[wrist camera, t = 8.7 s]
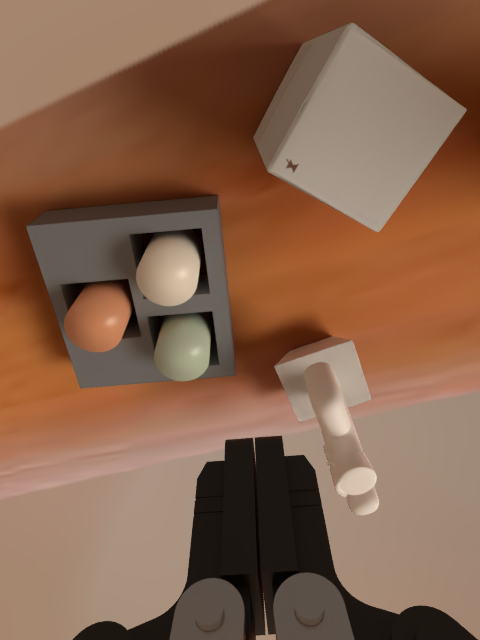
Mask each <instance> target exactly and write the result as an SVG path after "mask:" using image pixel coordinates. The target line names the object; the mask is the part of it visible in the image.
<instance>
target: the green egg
mask: <svg viewBox="0 0 480 640" xmlns="http://www.w3.org/2000/svg"><path fill="white" fill-rule="evenodd" d="M211 325H212V319H211V316H210V313H209V312H196V313H185V314H173V315H164V318H163V321H162V325H161V329H160V333H159V337H158V341H157V345H156V348H155V352H154V362H155V365H156V367H157V369H158V370H159V371H160V372H161V373H162V374H163V375H164V376H166V377H168V378H170V379H172V380H176V381H190V380H193V379H196V378H198V377H199V376H201V375H202V374H203V373H204V372H205V371H206V369H207V367H208V365H209V357H210V341H211Z"/></svg>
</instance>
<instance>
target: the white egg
mask: <svg viewBox="0 0 480 640" xmlns="http://www.w3.org/2000/svg"><path fill="white" fill-rule="evenodd" d="M201 256H202V245H201V242H200V240H199V238H198V236H197V235H196V234H195V232H194V231H192V230H191V229H185V230H174V231H163V232H154V234H153V235H152V237H151V239H150V241H149V244H148V246H147V248H146V250H145V252H144V255H143V257H142V259H141V261H140V263H139V265H138V268H137V272H136V281H137V285H138V287H139V289H140V291H141V292H142V294H143V295H144V296H145V297H146V298H147V299H149V300H150V301H152V302H153V303H156V304H158V305H162V306H176V305H180V304H182V303H184V302H186V301H187V300H189V299H190V298H191V297H192V295H193V294H194V292H195V291H196V288H197V284H198V277H199V270H200V263H201Z"/></svg>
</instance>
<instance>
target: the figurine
mask: <svg viewBox="0 0 480 640" xmlns="http://www.w3.org/2000/svg"><path fill="white" fill-rule="evenodd" d="M274 368H275V370H276V372H277V374H278V377H279V379H280V381H281V383H282V386H283V388H284V390H285V392H286V395H287V397H288V399H289V401H290V404H291V406H292V408H293V410H294V413H295V415H296V417H297V419H298V422H302V421H305V420H309V419H312V418H315V417H317V419H318V422H319V424H320V427H321V430H322V434H323V438H324V441H325V445H324V451H325V454H326V457H327V460H328V465H330V472H331V476H332V479H333V483H334V486H335V490H336V492H337V493H338V494H339V495H341V496H343V497H346V498H347V502H348V505H349V508H350V509H351V511H352V512H353V513H355V514H357V515H366V514H370V513H372V512H374V511H375V510H376V509H377V508H378V506H379V499H378V495H377V493H376V490H375V487H374V485H375V483H376V480H377V477H376V473H375V471H374V469H373V467H372V465H371V463H370V462H369V460H368V458H367V456H366V455H365V454H364V452H363V449H362V447H361V444H360V441H359V438H358V435H357V433H356V430H355V427H354V424H353V421H352V418H351V416H350V413H349V410H348V407H351V406H354V405H357V404H360V403H363V402H367V401H370V400H372V399H371V396H370V393H369V390H368V386H367V383H366V380H365V377H364V374H363V371H362V368H361V365H360V361H359V358H358V355H357V352H356V349H355V346H354V343H353V340H350V339H344V338H339V337H333V336H332V337H329V338H326V339H323V340H320V341H317V342H314V343H311V344H308V345H305V346H302V347H299V348H296V349H293V350H290V351H289V352H288V353H287V354H286V355H285V356H284V357H283V358H282V359H281V360H280V361H279V362H278V363H277V364H276V365H275V366H274Z"/></svg>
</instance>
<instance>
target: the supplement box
mask: <svg viewBox="0 0 480 640" xmlns="http://www.w3.org/2000/svg"><path fill="white" fill-rule="evenodd" d="M466 111H467V109H466V108H465V107H463V106H462V105H460V104H459V103H458V102H456V101H455V100H453V99H452V98H451V97H449V96H448V95H447V94H446V93H444V92H443V91H442V90H440V89H439V88H438V87H436V86H435V85H434V84H432V83H431V82H430V81H428V80H427V79H426V78H425V77H423V76H422V75H421V74H419V73H418V72H417V71H416V70H414V69H413V68H412V67H410V66H409V65H408V64H407V63H405V62H404V61H403V60H401V59H400V58H399V57H398V56H396V55H395V54H394V53H392V52H391V51H390V50H389V49H387V48H386V47H385V46H383V45H382V44H381V43H379V42H378V41H377V40H376V39H374V38H373V37H372V36H370V35H369V34H368V33H366V32H365V31H364V30H363V29H361V28H360V27H359V26H357V25H356V24H355V23H353V22H351V23H348V24H346V25H344V26H342V27H339V28H337V29H335V30H332V31H330V32H328V33H325V34H323V35H321V36H318V37H316V38H314V39H311V40H309V41H306V42H304V43H303V44H302V45H301V47H300V49H299V51H298V53H297V54H296V56H295V58H294V60H293V62H292V63H291V65H290V67H289V69H288V71H287V73H286V75H285V77H284V78H283V80H282V82H281V84H280V86H279V88H278V90H277V92H276V94H275V96H274V98H273V100H272V101H271V103H270V105H269V107H268V109H267V111H266V113H265V115H264V117H263V119H262V121H261V123H260V125H259V127H258V129H257V130H256V132H255V134H254V136H253V139H254V141H255V144H256V146H257V148H258V151H259V153H260V155H261V158H262V160H263V163H264V165H265V167H266V170H267V171H268V172H269V173H271V174H273V175H274V176H276V177H278V178H280V179H282V180H283V181H285V182H287V183H289V184H290V185H292V186H294V187H296V188H298V189H299V190H301V191H303V192H305V193H307V194H308V195H310V196H312V197H314V198H316V199H317V200H319V201H321V202H323V203H325V204H326V205H328V206H330V207H332V208H334V209H336V210H337V211H339V212H341V213H343V214H345V215H347V216H348V217H350V218H352V219H354V220H356V221H358V222H359V223H361V224H363V225H365V226H367V227H368V228H370V229H372V230H373V231H375V232H379V231H380V230H381V229H382V227H383V226H384V225H385V223H386V222H387V220H388V219H389V218H390V216H391V215H392V214H393V212H394V211H395V210H396V208H397V207H398V205H399V204H400V203H401V201H402V200H403V198H404V197H405V196H406V194H407V193H408V192H409V190H410V189H411V187H412V186H413V185H414V183H415V182H416V180H417V179H418V178H419V176H420V175H421V174H422V172H423V171H424V169H425V168H426V167H427V165H428V164H429V162H430V161H431V160H432V158H433V157H434V156H435V154H436V153H437V151H438V150H439V149H440V147H441V146H442V144H443V143H444V142H445V140H446V139H447V137H448V136H449V135H450V133H451V132H452V131H453V129H454V128H455V126H456V125H457V124H458V122H459V121H460V119H461V118H462V117H463V115H464V114H465V113H466Z"/></svg>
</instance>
